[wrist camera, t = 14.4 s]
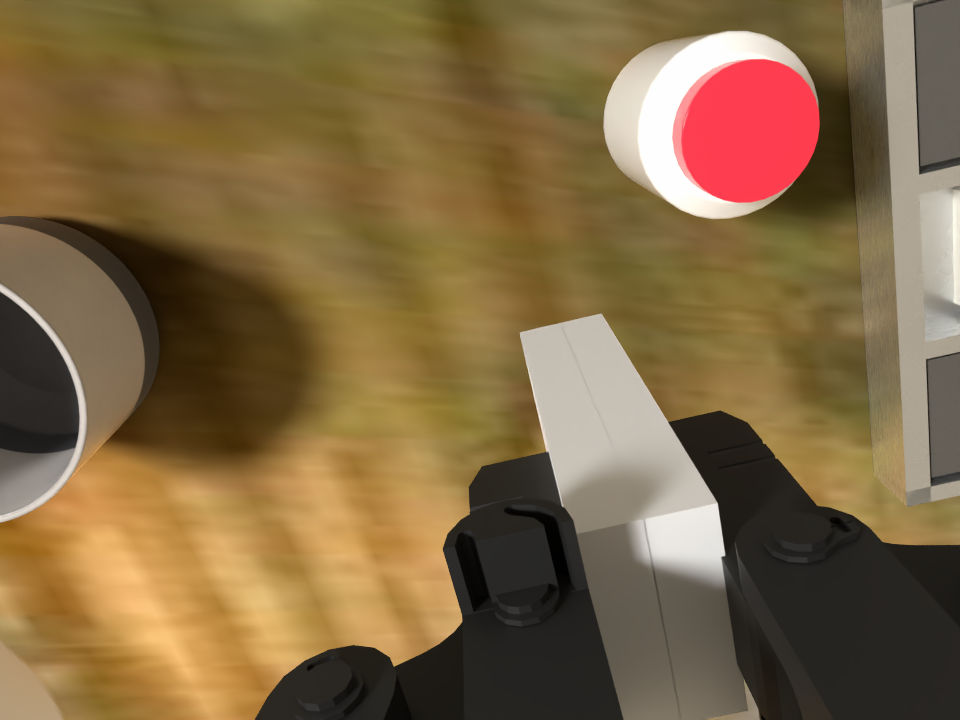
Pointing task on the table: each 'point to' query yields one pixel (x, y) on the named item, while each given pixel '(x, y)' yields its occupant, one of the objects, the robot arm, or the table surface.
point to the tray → (908, 235)
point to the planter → (64, 356)
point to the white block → (956, 244)
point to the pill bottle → (713, 122)
